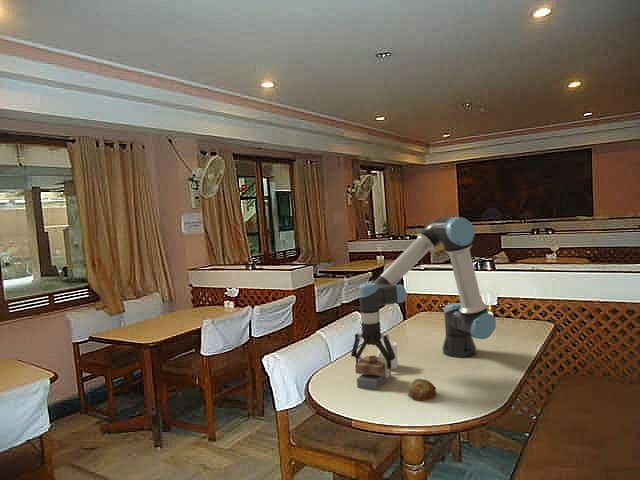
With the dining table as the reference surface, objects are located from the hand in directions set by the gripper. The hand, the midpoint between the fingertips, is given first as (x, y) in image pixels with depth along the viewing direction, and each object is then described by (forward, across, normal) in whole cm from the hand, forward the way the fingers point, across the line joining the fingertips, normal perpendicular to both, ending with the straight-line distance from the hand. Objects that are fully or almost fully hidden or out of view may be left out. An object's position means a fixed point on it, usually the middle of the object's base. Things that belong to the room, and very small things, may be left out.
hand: (374, 374), depth 192 cm
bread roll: (+3, -22, +7) cm, 23 cm away
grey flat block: (+3, 0, 0) cm, 3 cm away
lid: (-2, 0, 0) cm, 2 cm away
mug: (+3, +1, -16) cm, 16 cm away
